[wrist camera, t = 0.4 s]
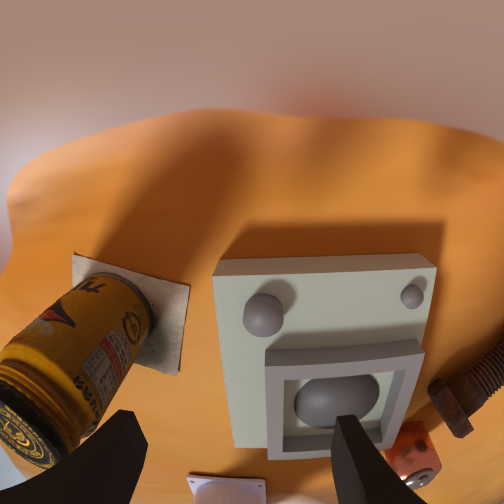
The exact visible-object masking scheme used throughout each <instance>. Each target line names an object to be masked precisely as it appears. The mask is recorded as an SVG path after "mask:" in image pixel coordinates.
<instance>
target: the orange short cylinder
mask: <svg viewBox="0 0 504 504" xmlns="http://www.w3.org/2000/svg"><path fill="white" fill-rule="evenodd" d="M384 453H385V457H386V460H387V463H388V464H389V465H390V466H391V468H392V469H393V470H394V471H395V472H396V473H397V475H398V476H399V477H400V478H401V479H402V480H403V481H404V482H405V483H406V485H407V486H408V487H409V488H410V489H411V490H415V489H418V488H421V487H423V486H426V485H427V484H429V483H430V482H431V481H432V480H433V479H434V477H435V476H436V475H437V474H438V473H439V471H440V470H441V468H442V464H441V462H440V460H439V457H438V455H437V452H436V450H435V448H434V445H433V443H432V441H431V438H430V436H429V434H428V431H427V429H426V427H425V425H424V424H423V423H422V422H416V421H415V422H409V423H405V424H403V425H401V427H400V429H399V432H398V434H397V437H396V439H395V441H394V444H393V446H392V448H389V449H384Z"/></svg>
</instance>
